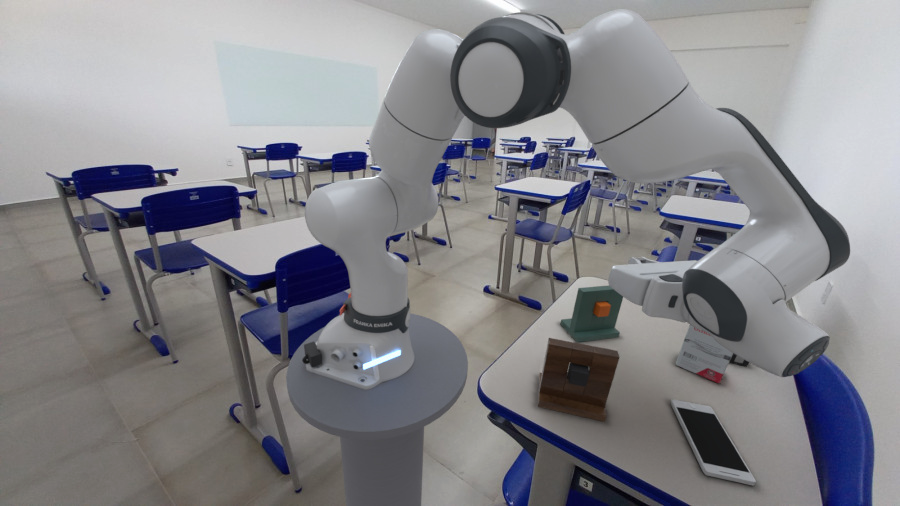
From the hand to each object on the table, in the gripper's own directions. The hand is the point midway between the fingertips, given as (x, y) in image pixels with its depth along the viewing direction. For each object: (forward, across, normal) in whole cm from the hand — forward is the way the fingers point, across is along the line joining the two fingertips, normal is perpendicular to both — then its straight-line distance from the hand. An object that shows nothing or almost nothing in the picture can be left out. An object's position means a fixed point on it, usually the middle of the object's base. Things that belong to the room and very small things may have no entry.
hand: (634, 260), depth 69 cm
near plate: (-7, +14, +26) cm, 30 cm away
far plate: (+12, -5, +26) cm, 29 cm away
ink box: (-6, -21, +26) cm, 34 cm away
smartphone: (-21, -5, +26) cm, 33 cm away
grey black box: (0, -34, +26) cm, 43 cm away
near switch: (-9, +15, +19) cm, 26 cm away
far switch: (+10, -5, +19) cm, 22 cm away
